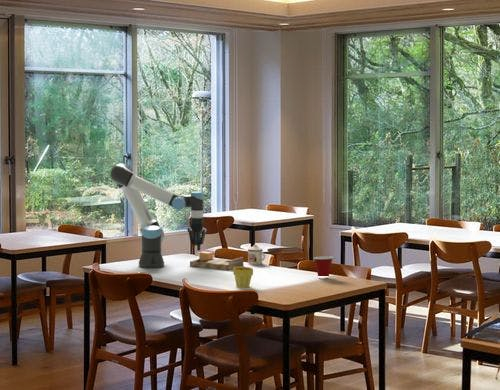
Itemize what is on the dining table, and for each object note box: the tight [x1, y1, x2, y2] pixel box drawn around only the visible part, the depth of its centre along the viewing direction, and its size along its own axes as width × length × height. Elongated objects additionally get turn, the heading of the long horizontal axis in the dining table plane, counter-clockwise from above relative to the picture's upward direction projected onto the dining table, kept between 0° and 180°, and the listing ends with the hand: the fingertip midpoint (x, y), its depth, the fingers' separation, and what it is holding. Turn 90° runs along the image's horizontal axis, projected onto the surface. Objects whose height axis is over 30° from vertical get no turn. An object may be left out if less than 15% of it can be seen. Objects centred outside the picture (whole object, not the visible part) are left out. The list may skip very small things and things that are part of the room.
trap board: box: [189, 256, 245, 271], centre depth 547 cm, size 27×17×6 cm, turn 63°
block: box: [198, 251, 214, 260], centre depth 555 cm, size 6×6×4 cm
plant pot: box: [232, 266, 254, 289], centre depth 481 cm, size 10×10×10 cm
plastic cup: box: [313, 255, 334, 277], centre depth 510 cm, size 11×11×12 cm
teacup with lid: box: [247, 244, 266, 266], centre depth 557 cm, size 12×9×12 cm
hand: (196, 255), depth 558 cm, fingers closed
